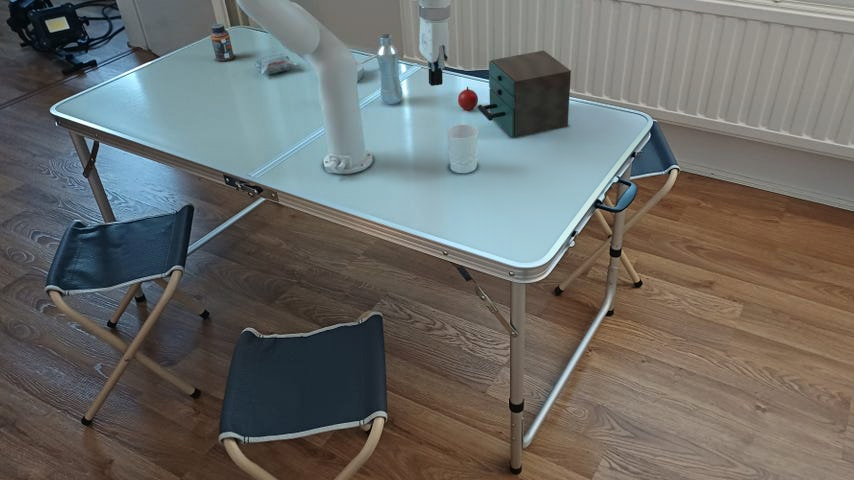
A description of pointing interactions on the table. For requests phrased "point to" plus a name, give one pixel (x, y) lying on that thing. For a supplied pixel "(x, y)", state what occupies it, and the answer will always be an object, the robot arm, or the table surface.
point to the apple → (467, 99)
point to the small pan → (360, 66)
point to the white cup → (462, 147)
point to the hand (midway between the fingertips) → (435, 84)
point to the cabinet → (532, 90)
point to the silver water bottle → (389, 70)
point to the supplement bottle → (221, 43)
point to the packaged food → (274, 64)
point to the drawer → (499, 112)
